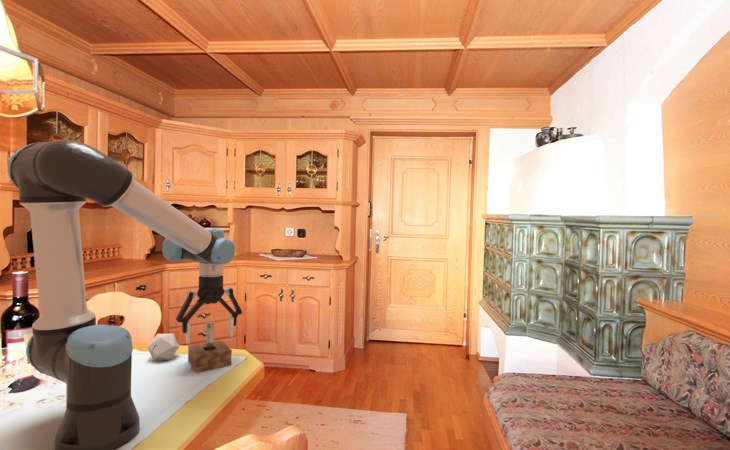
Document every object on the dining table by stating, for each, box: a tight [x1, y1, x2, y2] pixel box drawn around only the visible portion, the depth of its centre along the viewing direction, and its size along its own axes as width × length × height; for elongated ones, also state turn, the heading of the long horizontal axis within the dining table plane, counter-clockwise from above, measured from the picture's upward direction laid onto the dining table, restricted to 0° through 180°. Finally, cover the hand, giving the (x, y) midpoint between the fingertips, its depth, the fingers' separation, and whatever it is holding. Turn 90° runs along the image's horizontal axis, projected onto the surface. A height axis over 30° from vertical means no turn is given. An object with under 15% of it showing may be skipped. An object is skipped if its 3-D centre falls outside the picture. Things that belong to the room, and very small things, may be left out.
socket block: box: [187, 340, 233, 373], centre depth 125 cm, size 11×11×5 cm
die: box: [146, 333, 180, 361], centre depth 128 cm, size 8×9×10 cm
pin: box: [205, 321, 215, 351], centre depth 125 cm, size 2×2×12 cm
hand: (209, 339), depth 125 cm, fingers open, 13 cm apart
